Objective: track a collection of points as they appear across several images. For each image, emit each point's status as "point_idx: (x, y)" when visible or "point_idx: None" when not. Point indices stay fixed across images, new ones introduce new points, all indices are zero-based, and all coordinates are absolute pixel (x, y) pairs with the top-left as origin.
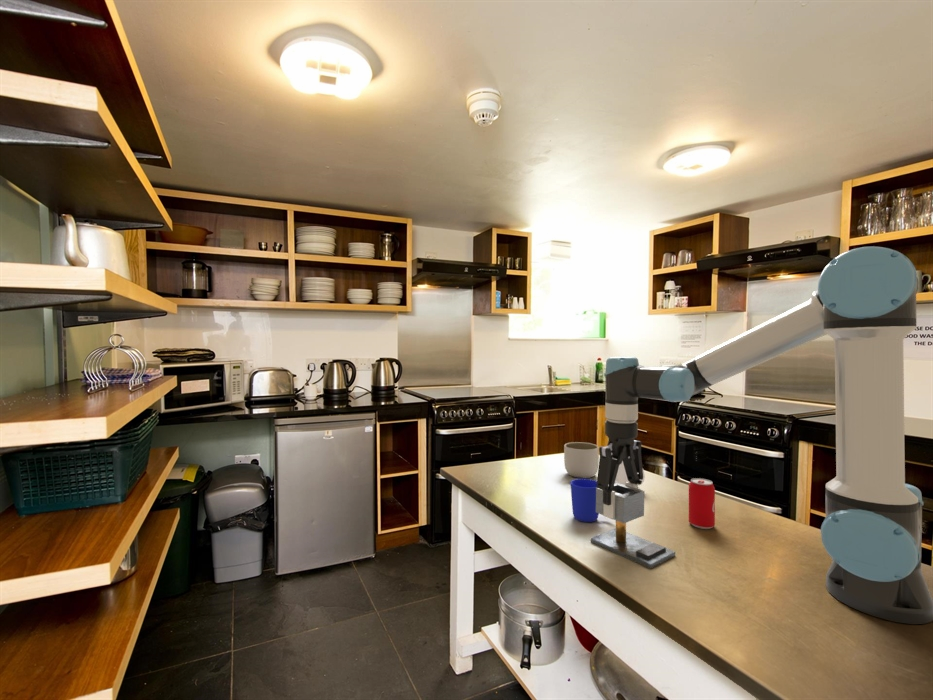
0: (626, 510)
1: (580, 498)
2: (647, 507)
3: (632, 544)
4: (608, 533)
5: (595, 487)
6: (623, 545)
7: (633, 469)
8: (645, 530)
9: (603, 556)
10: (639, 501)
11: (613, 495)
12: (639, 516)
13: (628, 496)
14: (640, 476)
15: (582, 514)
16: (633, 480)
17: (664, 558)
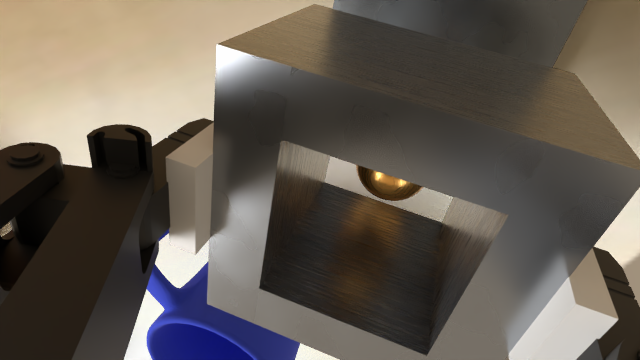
0: (562, 96)
1: None
2: (27, 103)
3: (438, 18)
4: None
5: (225, 335)
6: None
7: (68, 325)
8: (208, 36)
9: (619, 102)
10: (340, 47)
11: (601, 286)
12: (368, 20)
13: (554, 144)
14: (36, 175)
15: None
16: (145, 210)
17: None
